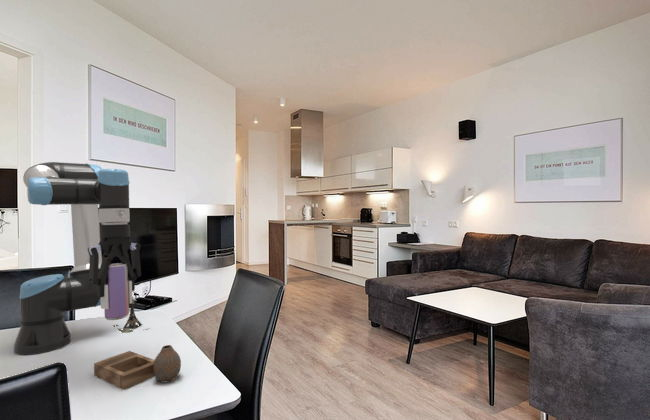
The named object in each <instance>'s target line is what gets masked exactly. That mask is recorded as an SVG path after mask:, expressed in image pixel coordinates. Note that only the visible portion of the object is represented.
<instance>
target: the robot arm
mask: <svg viewBox="0 0 650 420" xmlns="http://www.w3.org/2000/svg"><path fill="white" fill-rule="evenodd" d="M22 177H23V178H22V179H23V180H22V181H23V184H24V185H25V186H26V187H27V191H26V193H27V200H28V203H29V204H30V205H40V206H48V205H52V206H54V205H59V206H61V205H70V211H71V231H72V245H73V247H72V249H73V263H74V267H73V268H72V269H71V270H70V272H69V276H68V277H65V276H64V275H63V274H62V273H61V274H60V273H56V274H49V275H42V276H38V277H33V278H31V279H29V280H26V281H24V282H23V283H22V284H21V285H20V287H19V288H20V290H19V291H20V292H19V298H18V299H20V304H19V305H20V327H19V331H18V333H17V336H16V339H15V341H14V344H13V349H14V350H13V351H14V353H15V354H17V355H24V356H25V355H35V354H36V355H37V354H42V353H47V352H51V351H54V350H58V349H60V348H63V347H65V346H67V345H69V344H70V343H71V342H72V341H71V340H72V339H71V332H70V330H69V328H68V325H67V323H66V321H65V312H70V311H77V310H83V309H89V308H96V307H99V306H100V309H103V310H105V309H109V304H108V285H105V281H106V278H107V274H108V269H109V266H110V264H112V261H113V260H114V258H116V257H118V259H119V260H120V263H122V264H127V267H128V294H129V305H131V303H132V297H133V291H135V290H136V289H135V288H136V286H135V285H136V284H135V281H137V279H138V278H140V277H141V276H142V268H141V267H142V266H141V257H140V256H141V254H140V250H141V245H142V244H141V243H135V242H132V241H131V239H130V238H131V225H130V224H128V223H130V220H131V219H130V217H131V216H130V214H131V213H130V180H129V179H130V178H129V173H128V171H127V170H126V169H120V168H102V167H101V166H100V165H98V164H93V163H92V164H90V163H77V162H74V163H73V162H59V161H47V162H42V163H38V164H35V165H31V166H30V167H29V168H27V170H25V172H24V173H23V176H22ZM100 224H101V225H100ZM128 250H130V255H131V256H129V253H128ZM102 253H103V254H102ZM130 257H131V261H130Z"/></svg>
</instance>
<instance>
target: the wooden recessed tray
mask: <svg viewBox="0 0 650 420" xmlns="http://www.w3.org/2000/svg"><path fill="white" fill-rule="evenodd" d="M154 361H155V359H153V358H150V357H148V356H145V355H142V354H139V353H137V352H134V351H131V350H129V351H125V352H123V353H120V354H116V355H114V356H110V357H108V358H105V359H102V360H99V361H97V362H94V363H93V373H94V374H93V376H94V377H96V378H99V379H100V380H103V381H104V382H106V383H108V384H111V385H113V386H114V387H118V388H119V389H121V390H126V389H129V388H131V387H134V386H135V385H138V384H140V383H143V382H145V381H147V380H151V379H152V378H156V377H155V375H154V372H153V365H154Z"/></svg>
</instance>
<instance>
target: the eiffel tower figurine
mask: <svg viewBox="0 0 650 420" xmlns="http://www.w3.org/2000/svg"><path fill="white" fill-rule="evenodd" d="M115 325H116V326H117V327H118V326H119V325H118V324H114V325H112V326H113V328H114V327H115ZM138 325H139V326H138ZM140 325H142V326H143V324H142V322H141V321H140V320H139V319H138V317H137V316H136V313H135V307H134V297H133V296H132V303H131V304H130V310H129V314H128V319H127V320H126V323H125V325H124V326H123V327H122V328H117V329H118V330H119V331H121V332H122V333H121V334H126V333H127V334H128V333H133V332H134V330H136V329H139V328H140V327H141V326H140ZM121 329H123V330H121ZM130 329H131V330H130ZM149 329H150V328H148V330H149ZM145 330H147V328H145ZM145 330H144V331H145Z"/></svg>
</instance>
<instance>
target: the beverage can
mask: <svg viewBox="0 0 650 420" xmlns="http://www.w3.org/2000/svg"><path fill="white" fill-rule="evenodd" d="M105 285H108V304H109V309H104V318H105V319H106V320H107V321H117V320H121V319H125V318H127V317H129V314H130V304H129V294H128V267H127V264H122V263H121V262H120V263H119V262H117V263H111V264H110V266H109V269H108V274H107V278H106V281H105Z"/></svg>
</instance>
